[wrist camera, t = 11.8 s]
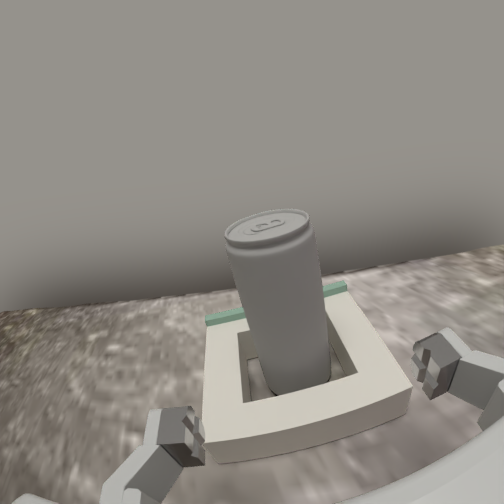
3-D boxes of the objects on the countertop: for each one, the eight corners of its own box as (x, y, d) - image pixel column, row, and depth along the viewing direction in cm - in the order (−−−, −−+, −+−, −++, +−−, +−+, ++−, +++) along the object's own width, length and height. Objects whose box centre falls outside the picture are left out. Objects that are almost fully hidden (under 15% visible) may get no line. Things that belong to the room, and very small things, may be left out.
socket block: (218, 464, 14) (197, 438, 13) (217, 346, 25) (205, 315, 24) (405, 413, 14) (414, 379, 13) (346, 313, 25) (343, 280, 24)
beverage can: (260, 367, 22) (217, 224, 17) (317, 347, 22) (293, 202, 18) (276, 412, 17) (227, 252, 13) (342, 387, 18) (327, 222, 13)
